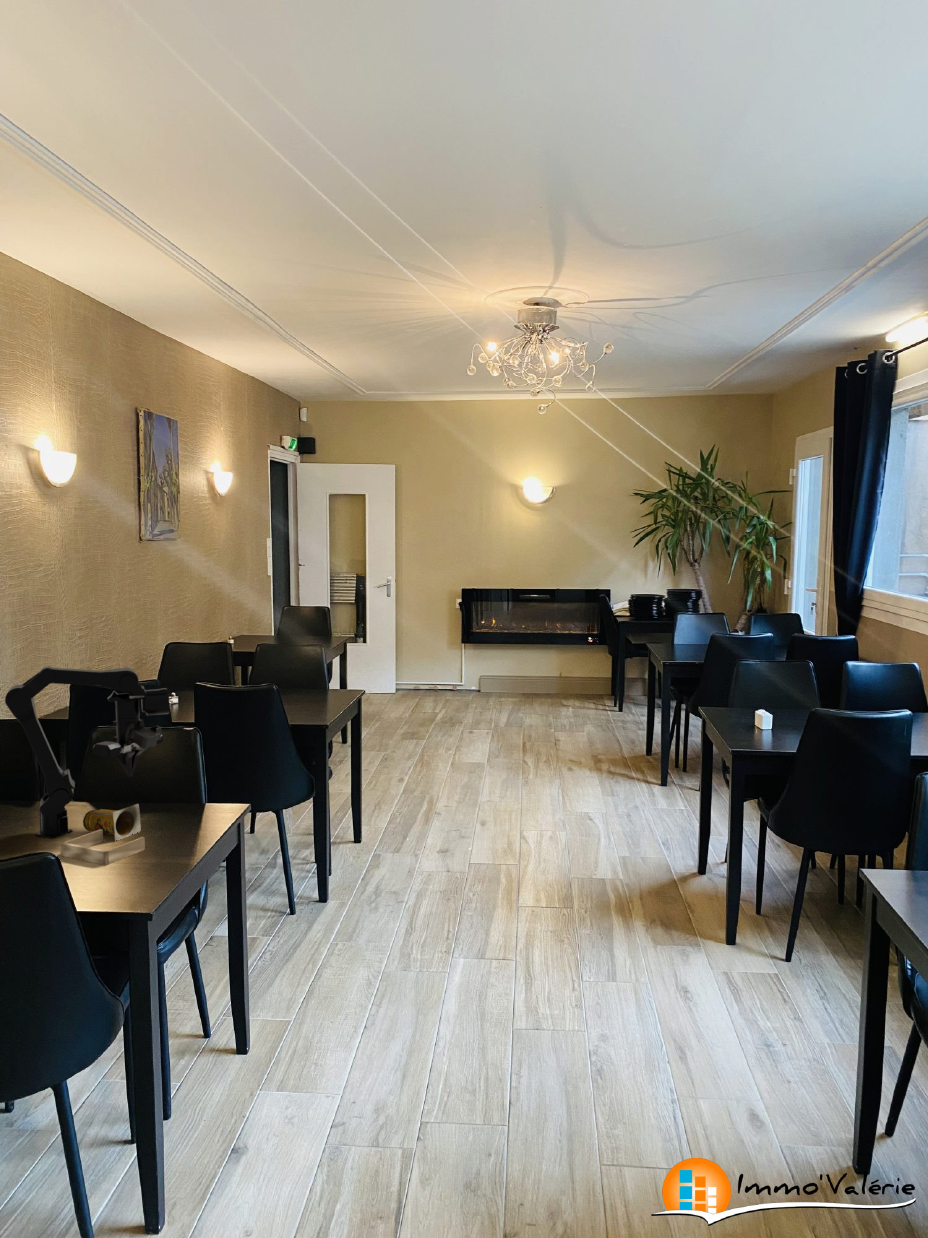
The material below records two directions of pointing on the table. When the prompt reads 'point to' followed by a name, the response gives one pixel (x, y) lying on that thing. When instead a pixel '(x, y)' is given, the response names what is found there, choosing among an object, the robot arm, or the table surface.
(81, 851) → the wooden bracket
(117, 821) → the condiment
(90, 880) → the table surface
